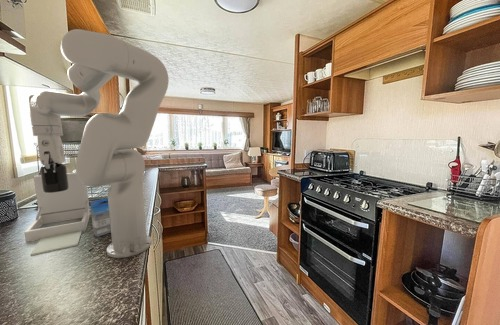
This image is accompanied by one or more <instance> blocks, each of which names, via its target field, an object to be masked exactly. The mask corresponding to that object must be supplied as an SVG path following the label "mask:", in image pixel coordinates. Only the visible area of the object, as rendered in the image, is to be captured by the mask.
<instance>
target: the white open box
mask: <svg viewBox="0 0 500 325" xmlns="http://www.w3.org/2000/svg"><path fill="white" fill-rule="evenodd" d="M67 177H68V187H69V188H68V189H67V190H65V191H60V192H53V193H45V192H44V191H43V186H42V178H41V174H40V175H34V176H33V182H34V189H35V196H36V202H37V213H36V216H35V219H34V221H32V223H31V224H30V225H29V226H28V228H26V230H25V231H24V239H25V243H27V242H33V241H40V240H41V239H43V238H48V237H53V236H58V235H63V234H68V233H74V232H79V231H82V232H85V231H86V229H87V228H88V223H89V220H90V215H91V211H90V201H89V192H88V186H86V185H84V184H82V183H81V182H80V181H79V179H78V177H77V174H76V172H67ZM76 219H81V221H75V222H70V223H65V224H64V223H63V224H60V225H59V224H57V225H53V226H48V227H42V226H44V225H48V224H53V223H59V222H60V223H61V222H64V221H71V220H76Z"/></svg>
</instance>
